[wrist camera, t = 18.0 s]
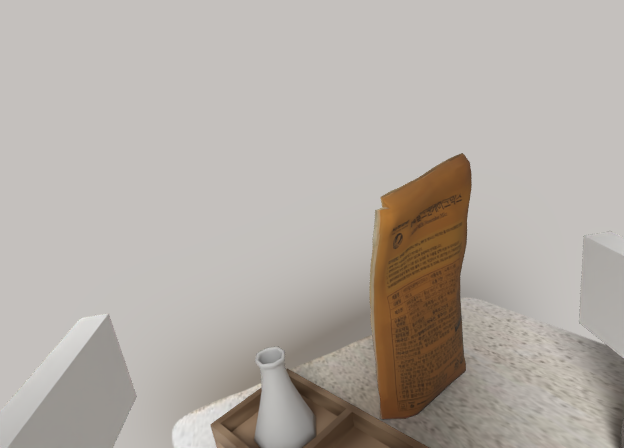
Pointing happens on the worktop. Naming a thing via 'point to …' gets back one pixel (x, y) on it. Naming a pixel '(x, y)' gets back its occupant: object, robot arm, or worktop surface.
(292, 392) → the flask
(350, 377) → the worktop surface
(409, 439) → the wooden tray
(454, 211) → the pancake mix bag
